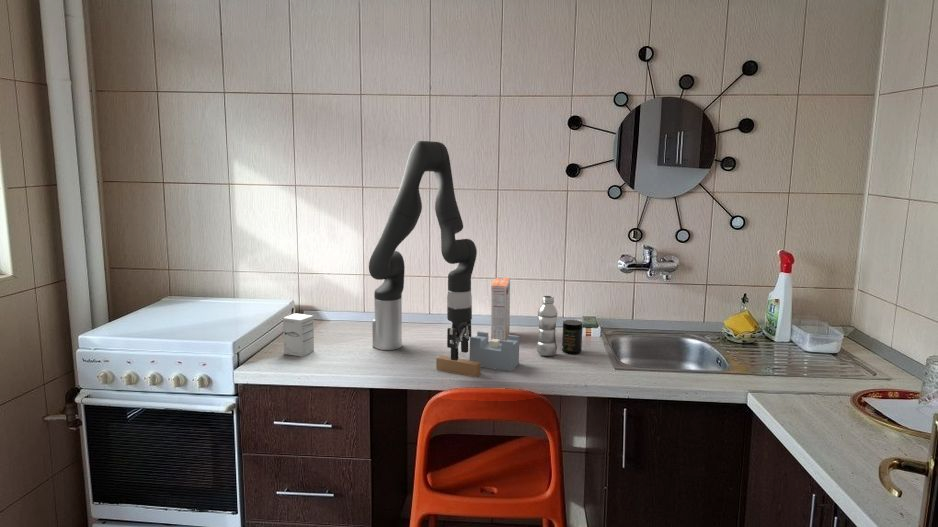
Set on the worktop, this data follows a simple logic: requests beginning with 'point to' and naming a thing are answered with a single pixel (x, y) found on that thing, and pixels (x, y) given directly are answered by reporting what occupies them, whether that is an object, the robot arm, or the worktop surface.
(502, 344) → the notched gray block
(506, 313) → the cracker box
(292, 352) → the supplement box
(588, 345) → the worktop surface
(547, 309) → the plastic bottle
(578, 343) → the supplement container
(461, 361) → the frame bar
